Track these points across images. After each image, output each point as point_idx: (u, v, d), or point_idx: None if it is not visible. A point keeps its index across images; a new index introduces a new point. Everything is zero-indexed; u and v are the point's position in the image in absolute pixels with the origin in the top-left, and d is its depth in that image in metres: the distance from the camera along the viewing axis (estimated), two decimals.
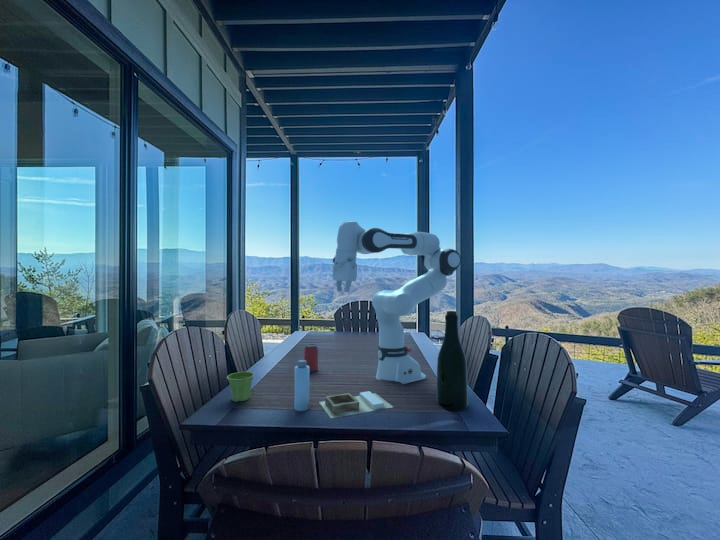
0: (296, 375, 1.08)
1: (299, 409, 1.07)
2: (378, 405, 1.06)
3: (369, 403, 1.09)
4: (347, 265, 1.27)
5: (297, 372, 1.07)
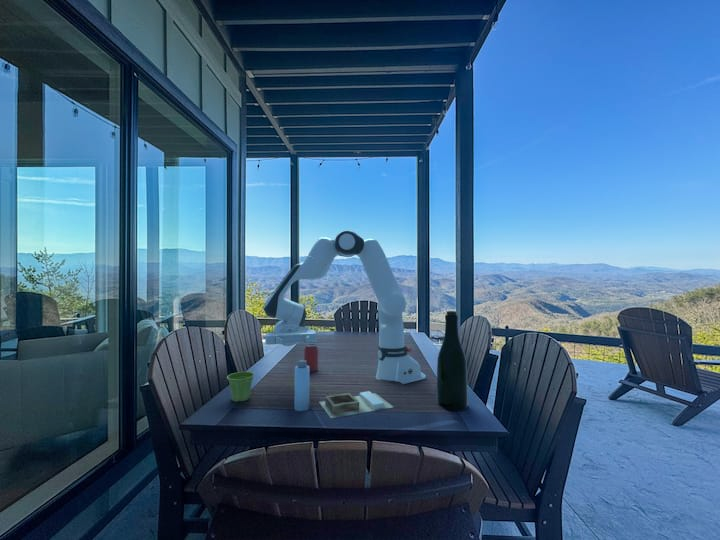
0: (296, 375, 1.08)
1: (299, 409, 1.07)
2: (378, 405, 1.06)
3: (369, 403, 1.09)
4: None
5: (298, 372, 1.07)
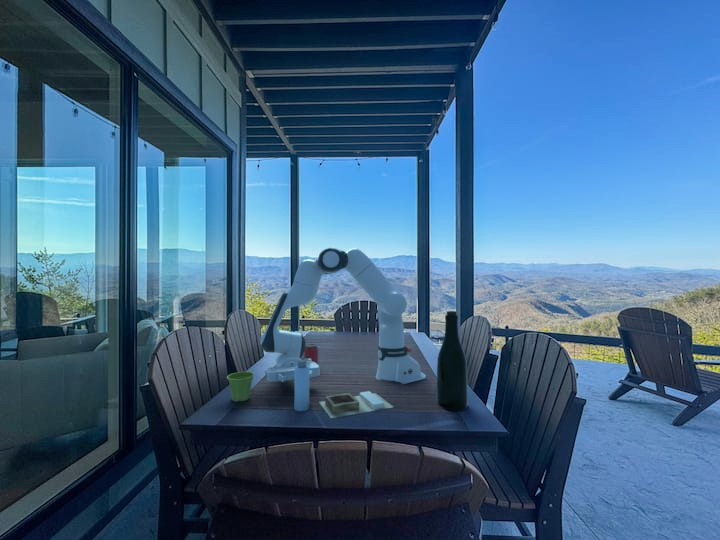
0: (296, 375, 1.08)
1: (299, 409, 1.07)
2: (378, 405, 1.06)
3: (369, 403, 1.09)
4: None
5: (298, 372, 1.07)
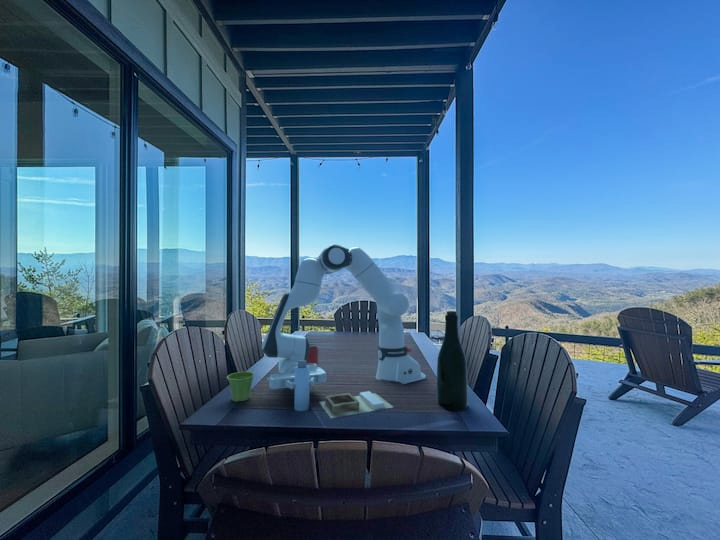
0: (296, 375, 1.08)
1: (299, 409, 1.07)
2: (378, 405, 1.06)
3: (369, 403, 1.09)
4: None
5: (298, 372, 1.07)
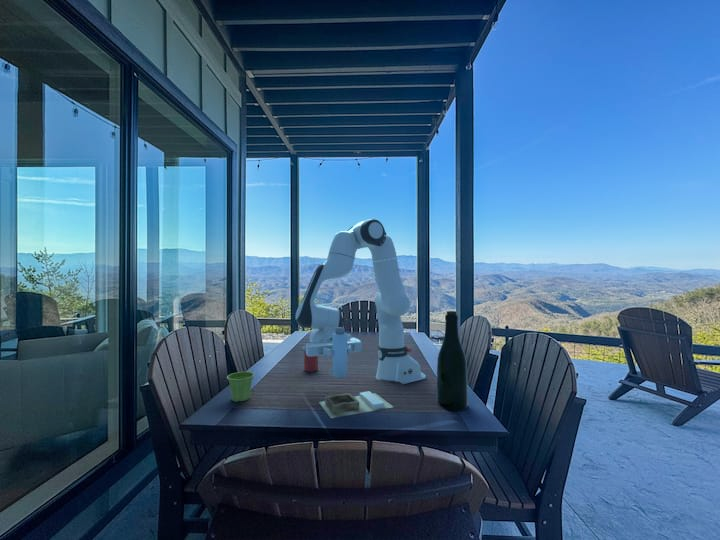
0: (334, 341, 1.06)
1: (338, 375, 1.06)
2: (378, 405, 1.06)
3: (369, 403, 1.09)
4: None
5: (336, 338, 1.06)
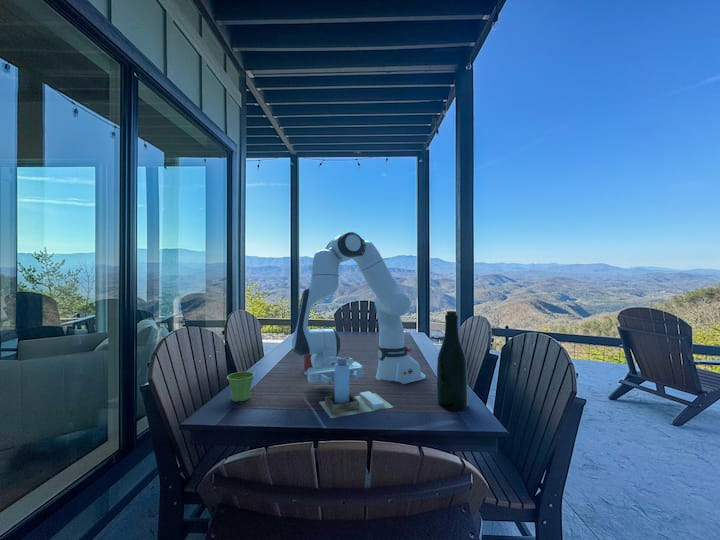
0: (336, 373, 1.06)
1: None
2: (378, 405, 1.06)
3: (369, 403, 1.09)
4: None
5: (338, 370, 1.06)
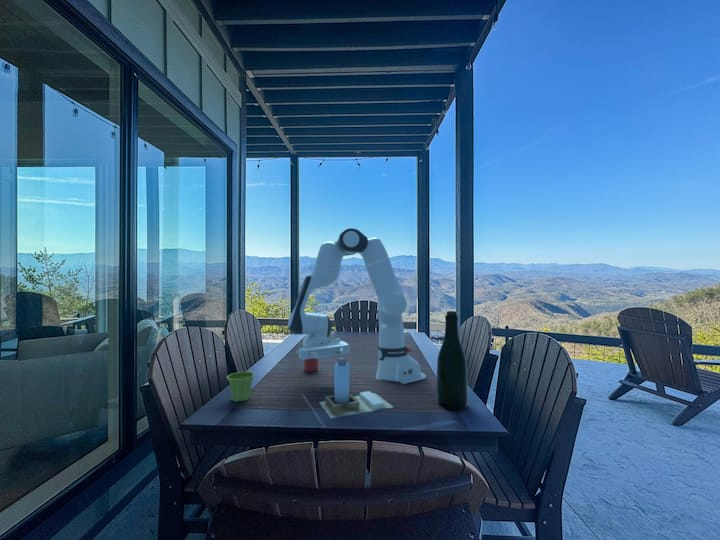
0: (336, 373, 1.06)
1: None
2: (378, 405, 1.06)
3: (369, 403, 1.09)
4: None
5: (338, 370, 1.06)
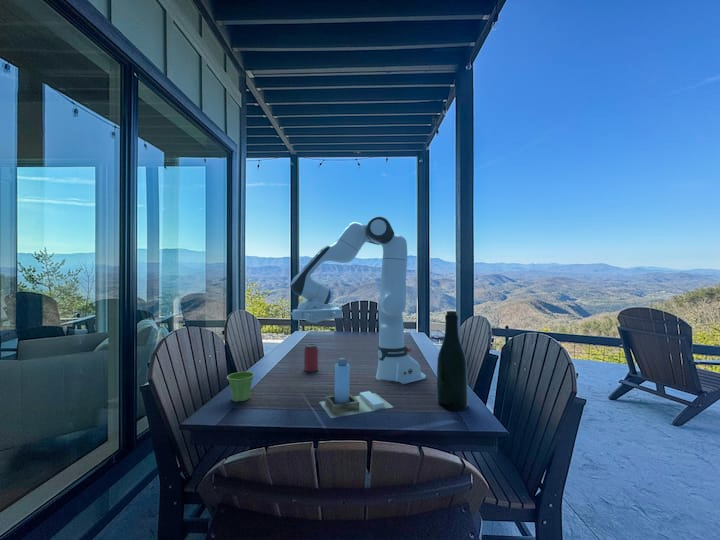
0: (336, 373, 1.06)
1: None
2: (378, 405, 1.06)
3: (369, 403, 1.09)
4: None
5: (339, 370, 1.05)
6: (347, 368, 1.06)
